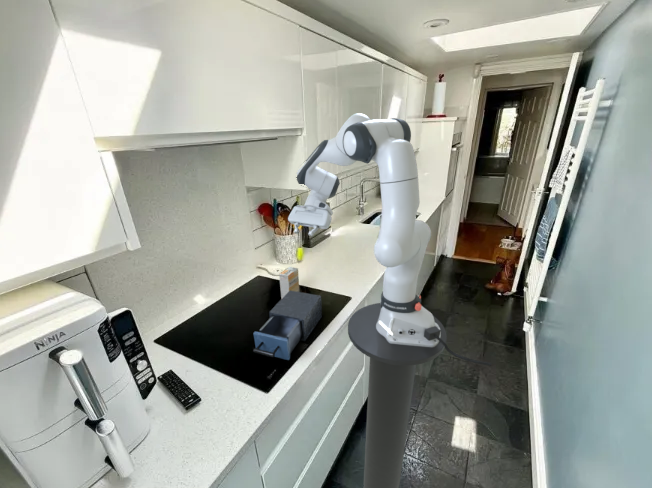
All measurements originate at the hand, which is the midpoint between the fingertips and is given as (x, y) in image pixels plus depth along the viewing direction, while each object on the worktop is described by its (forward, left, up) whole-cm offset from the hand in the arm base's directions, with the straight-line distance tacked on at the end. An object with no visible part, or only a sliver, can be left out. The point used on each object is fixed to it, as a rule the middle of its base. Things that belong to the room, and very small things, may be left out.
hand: (303, 234), depth 134 cm
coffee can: (-23, -80, -27) cm, 87 cm away
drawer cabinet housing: (-9, +28, -26) cm, 40 cm away
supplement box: (+3, +10, -27) cm, 29 cm away
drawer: (-9, +43, -25) cm, 51 cm away
